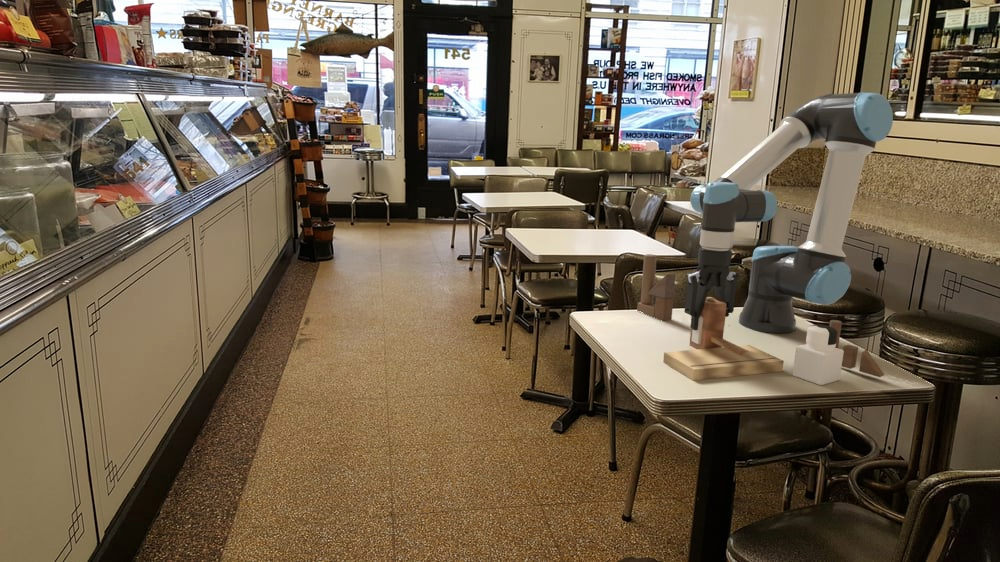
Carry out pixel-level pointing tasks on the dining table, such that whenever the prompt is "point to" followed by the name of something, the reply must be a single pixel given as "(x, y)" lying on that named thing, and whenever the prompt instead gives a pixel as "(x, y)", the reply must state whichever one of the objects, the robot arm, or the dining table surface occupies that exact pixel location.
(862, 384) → the dining table surface
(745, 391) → the dining table surface
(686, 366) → the board
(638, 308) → the wooden post assembly
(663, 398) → the dining table surface
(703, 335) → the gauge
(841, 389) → the dining table surface
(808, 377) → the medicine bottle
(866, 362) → the wood blocks
